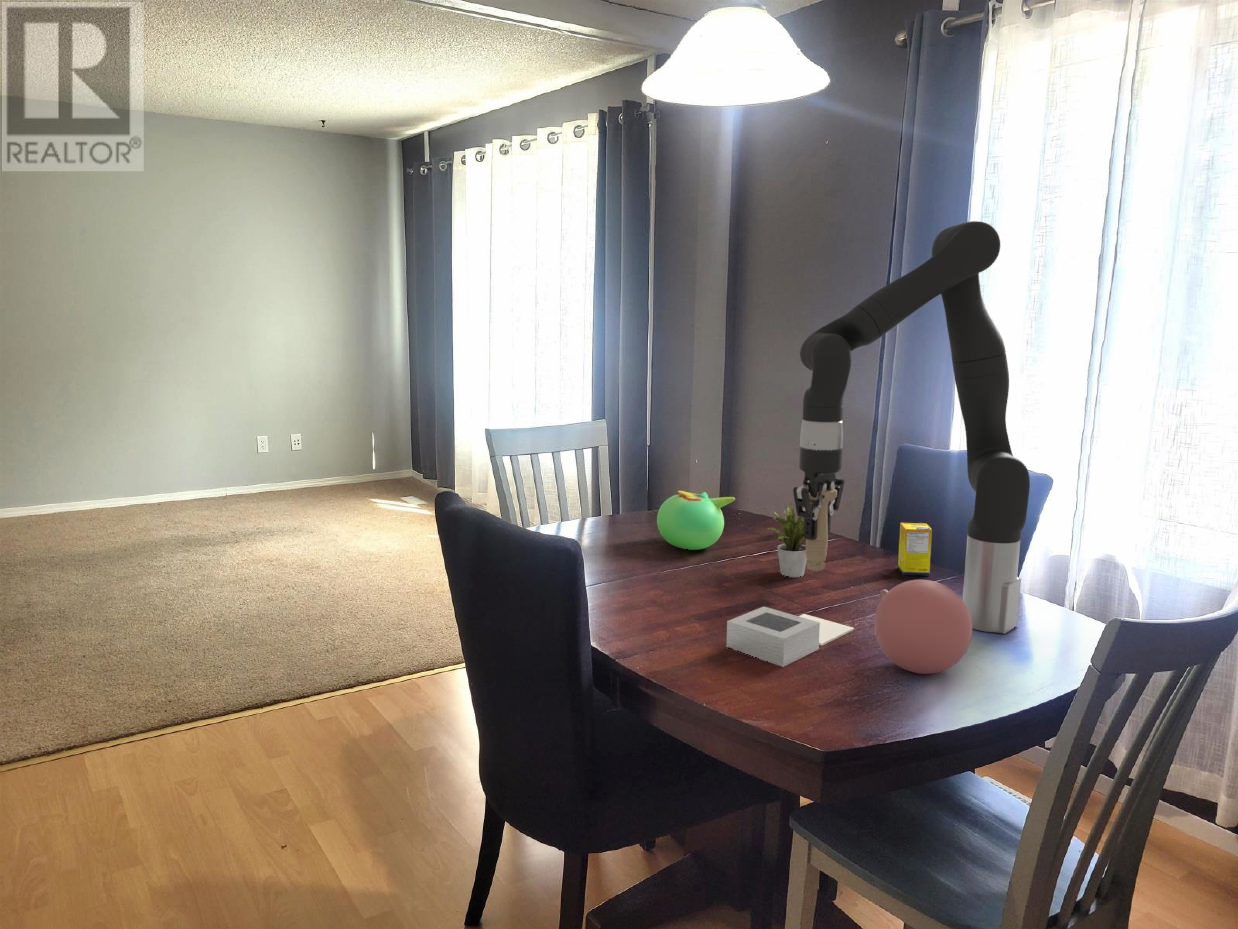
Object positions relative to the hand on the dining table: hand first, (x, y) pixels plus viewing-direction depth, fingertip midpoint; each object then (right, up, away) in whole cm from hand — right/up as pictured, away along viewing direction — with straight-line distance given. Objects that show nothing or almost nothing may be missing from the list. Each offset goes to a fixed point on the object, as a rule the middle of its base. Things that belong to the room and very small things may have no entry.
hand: (817, 536), depth 165 cm
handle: (0, -6, +1) cm, 6 cm away
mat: (0, -18, +3) cm, 18 cm away
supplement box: (+31, -12, +40) cm, 51 cm away
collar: (-9, -19, -6) cm, 22 cm away
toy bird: (-18, -8, +59) cm, 63 cm away
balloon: (+13, -21, -13) cm, 28 cm away
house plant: (+2, -12, +37) cm, 39 cm away
